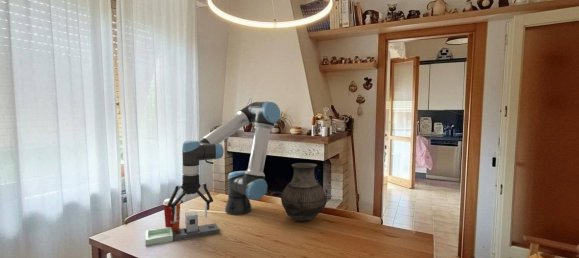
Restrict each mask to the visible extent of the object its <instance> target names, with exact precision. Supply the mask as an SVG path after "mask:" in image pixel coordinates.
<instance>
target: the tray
mask: <svg viewBox="0 0 579 258" xmlns="http://www.w3.org/2000/svg"><path fill="white" fill-rule="evenodd" d="M173 241H174V237H173V232H172V228H171V227H166V226H165V227H159V228H154V229H153V228H152V229H146V230H145V246H151V245H156V244H163V243H167V242H168V243H169V242H173Z"/></svg>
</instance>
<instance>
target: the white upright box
mask: <svg viewBox="0 0 579 258" xmlns="http://www.w3.org/2000/svg"><path fill="white" fill-rule="evenodd" d="M184 221H185V228H186V233H185V234H189V233H195V232H198V226H199V214H198V212H197V211H188V212H185V220H184Z"/></svg>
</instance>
